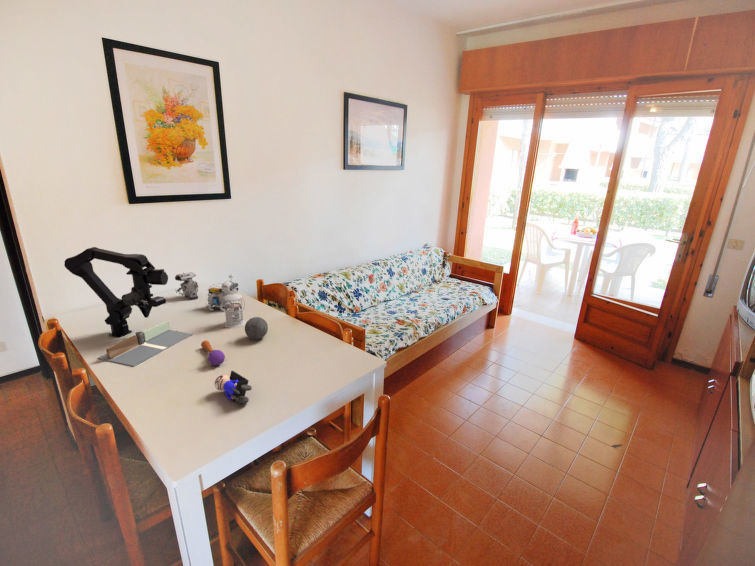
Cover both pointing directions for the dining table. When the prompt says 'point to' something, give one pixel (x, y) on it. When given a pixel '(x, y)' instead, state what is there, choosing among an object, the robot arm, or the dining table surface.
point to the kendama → (213, 354)
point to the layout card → (148, 348)
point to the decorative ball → (256, 328)
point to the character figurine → (233, 386)
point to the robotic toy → (221, 295)
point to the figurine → (188, 285)
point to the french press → (236, 320)
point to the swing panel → (156, 330)
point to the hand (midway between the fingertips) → (146, 317)
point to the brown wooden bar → (125, 345)
